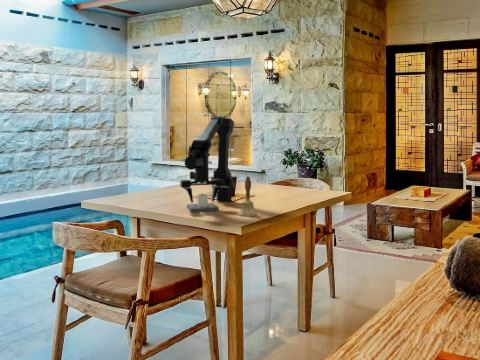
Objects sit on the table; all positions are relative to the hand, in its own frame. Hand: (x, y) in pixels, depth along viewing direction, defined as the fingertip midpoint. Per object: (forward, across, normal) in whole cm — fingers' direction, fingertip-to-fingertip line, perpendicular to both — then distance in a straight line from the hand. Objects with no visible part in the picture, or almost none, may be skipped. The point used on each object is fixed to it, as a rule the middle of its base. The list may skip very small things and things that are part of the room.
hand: (202, 202), depth 228 cm
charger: (+3, 0, 0) cm, 3 cm away
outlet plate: (+3, 0, 0) cm, 3 cm away
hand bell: (+3, -16, +17) cm, 24 cm away
